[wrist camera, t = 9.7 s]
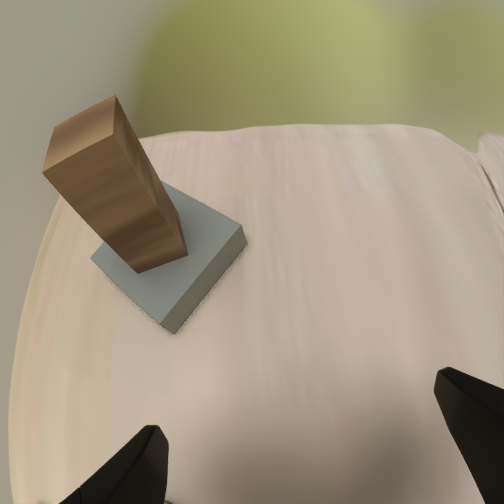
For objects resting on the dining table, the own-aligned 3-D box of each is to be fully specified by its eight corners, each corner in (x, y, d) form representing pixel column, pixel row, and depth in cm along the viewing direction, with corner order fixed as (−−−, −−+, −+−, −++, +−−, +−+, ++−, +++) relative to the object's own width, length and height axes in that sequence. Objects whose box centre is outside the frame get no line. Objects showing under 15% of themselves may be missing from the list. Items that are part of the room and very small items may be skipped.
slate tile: (174, 334, 24) (159, 324, 21) (106, 272, 28) (90, 258, 25) (247, 243, 27) (241, 224, 24) (171, 199, 31) (160, 180, 28)
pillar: (188, 255, 24) (112, 134, 13) (137, 274, 24) (41, 172, 13) (178, 212, 26) (115, 94, 15) (132, 230, 26) (54, 127, 15)
